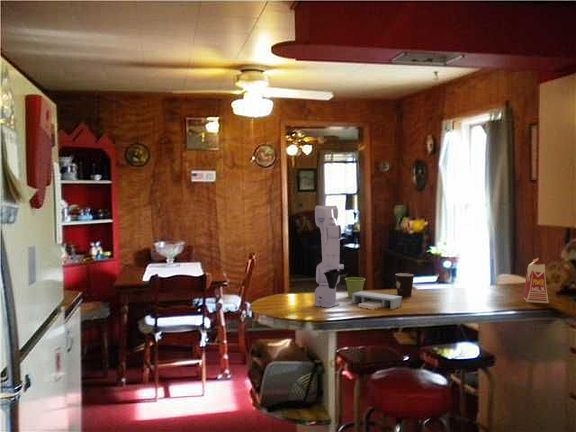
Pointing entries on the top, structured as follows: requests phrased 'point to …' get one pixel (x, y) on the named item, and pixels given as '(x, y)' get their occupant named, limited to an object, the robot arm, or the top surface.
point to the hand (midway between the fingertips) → (332, 288)
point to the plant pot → (354, 285)
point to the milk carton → (536, 283)
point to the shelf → (378, 298)
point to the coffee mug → (404, 284)
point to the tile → (371, 304)
